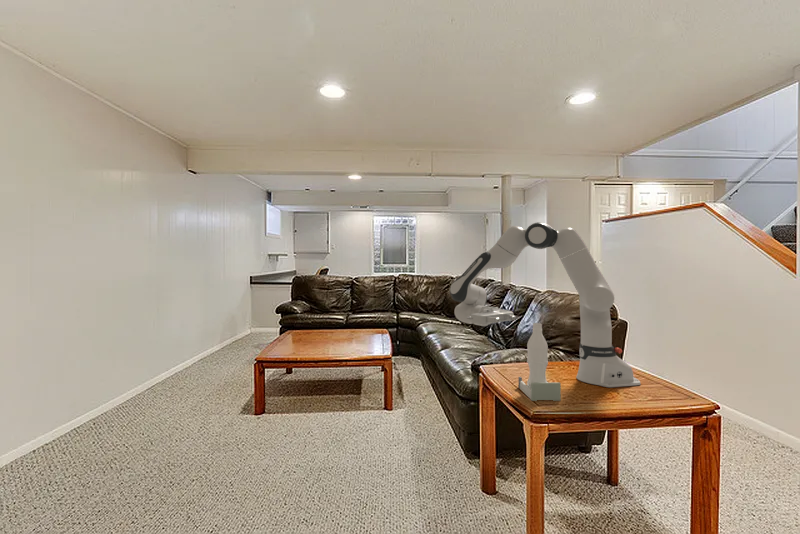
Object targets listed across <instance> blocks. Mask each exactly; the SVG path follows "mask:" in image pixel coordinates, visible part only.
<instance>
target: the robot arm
mask: <svg viewBox="0 0 800 534" xmlns="http://www.w3.org/2000/svg"><path fill="white" fill-rule="evenodd" d="M528 246H529V247H532V248H534V249H537V250H544V249H547V248H552V249H553V250H554V251H555V252H556V254H557V256H558V258H559V259H560V262H561V263H562V266H563V268H564V270H565V271H566V274H567V275H568V278H569V279H570V281H571V283H572V284H573V286H574V288H575V290H576V291H577V293H578V295H579V299H578V300H579V316H580V317H579V318H580V343H579V358H580V359H579V366H578V371H577V374H576V376H575V377H576V379H577V380H578V381H581V382H583V383H587V384H591V385H595V386H596V385H597V386H601V387H604V388H605V387H606V388H619V387H630V386H631V387H633V386H641V385H642V384H641V381H640V379H638V378H636V377H634V372H633V369H632V368H633V367H632V366H631V365H629V364H628V363H627V362H626V361H624V360H623V359H622V358H620V357H619V356H618V355H617V353H618V354H622V353H623V350H622V348H620V347H615V346H613V344H612V342H613V339H612V337H613V333H612V331H613V330H612V329H613V328H612V327H613V326H612V325H613V324H612V319H611V308H612V307H613V305H614V303H615V294H614V292H613V290H612V289H611V286H610V285H609V284H608V281H607V279H606V278H605V276H604V275H603V274H602V272H601V270H600V269H599V267H598V266H597V264H596V261H595V260H594V258H593V256H592V254H591V252H590V250H589V248H588V246H587V245H586V243H585V242H584V240H583V239H582V237H581V236H580V234H579V233H578V232H577V231H576V230H575V228H573V227H564V228H560V229H558V230H556V229H555V228H554V227H552V226H551V225H550V224H548V223H545V222H534V223H531V224H530V225H529V226H528V227H527V228H526V229H525V228H523V227H522V226H519V225H512V226H510V227H508V228H507V229H506V230H505V231H504V233H503V234H502V235H501V236H500V237H499V239H498V240H497V241H496V242H495V244H494V245H493V247H491V248H490V249H489V250H487V251H485V252H483V253H481V254H480V255H478V256H477V257H476V258H475V260H474V261H473V262H472V263H471V264H470V265H469V266H468V268H466V269H465V271H463V273H462V274H461V275H460V276H459V277H458V278H456V279H455V280H454V281H453V282H452V283H451V284H450V286H449V294H450V297H451V299H452V300H453V301H454V302H458V303H459V302H460V303H459V304H458V305H456V306H455V308H454V316H455V318H456V320H458V321H459V322H462V323H465V324H470V325H472V324H473V325H475V326H481V327H487V326H489V325H491V324H493V323H494V324H495V323H500V322H501V323H502V322H508V321H509V322H510V321H515V320H516V315H514V312H513V311H511V310H507V309H501V308H499V307H497V306H496V307H495V306H492V307H491V306H488V305H487V301H488V294H487V290H486V289H485V288H484V287H482V286H480V285H477V284H474V283H473V282H474V281H476V279H477V278H478V277H479V276H480V275H481V273H483V272H485V271H486V270H489V269H490V270H491V269H506V268H508V267H510V266H511V265H512V264H513V263H514V262H515V261H516V260H517V259H518V257H519V255H520V254H521V253H522V251H524V249H525V248H526V247H528Z"/></svg>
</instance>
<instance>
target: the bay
mask: <svg viewBox="0 0 800 534" xmlns="http://www.w3.org/2000/svg"><path fill="white" fill-rule="evenodd" d="M518 388H519V389H520V390H521V391H522V392H523V394H525V395H526V396H527V397H528V398H529V400H530V401H532V402H535V401H536V402H538V401H537V400H553V401H552V402H554V401H555V402H561V398H562V397H561V395H562V393H561V392H562V391H561V382H555V381H552V382H548V381H547V383H531V389H530V388H529V387H528V386H527V383H525V381H523V377H522V376H518Z"/></svg>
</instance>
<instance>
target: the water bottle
mask: <svg viewBox="0 0 800 534" xmlns="http://www.w3.org/2000/svg"><path fill="white" fill-rule="evenodd" d="M542 327H543V325H542V323H541V322H533V323H532V333H531V335H530V337H529V338H528V341H527V344H526V347H527V359H526V362H527V365H528V369H529V375H528V379H527V383H526V385H527V386H528V387H529V388H530V389H531V383H547V382H548V381H547V377H546V375H547V374H546V371H547V368H548V365H549V361H548V360H549V359H548V356H549V355H548V349H549V347H548V342H547V340H546V338H545V336H544V335H543V328H542Z"/></svg>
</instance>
